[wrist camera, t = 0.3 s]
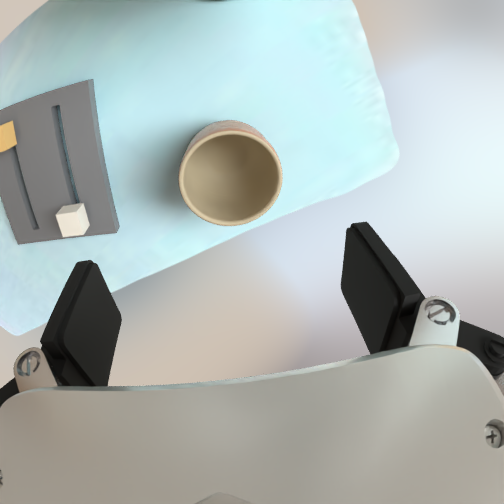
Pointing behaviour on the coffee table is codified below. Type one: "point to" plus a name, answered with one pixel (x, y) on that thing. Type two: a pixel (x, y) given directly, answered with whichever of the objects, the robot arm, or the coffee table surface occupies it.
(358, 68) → the coffee table surface
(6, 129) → the block
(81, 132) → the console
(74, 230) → the block
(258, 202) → the planter
